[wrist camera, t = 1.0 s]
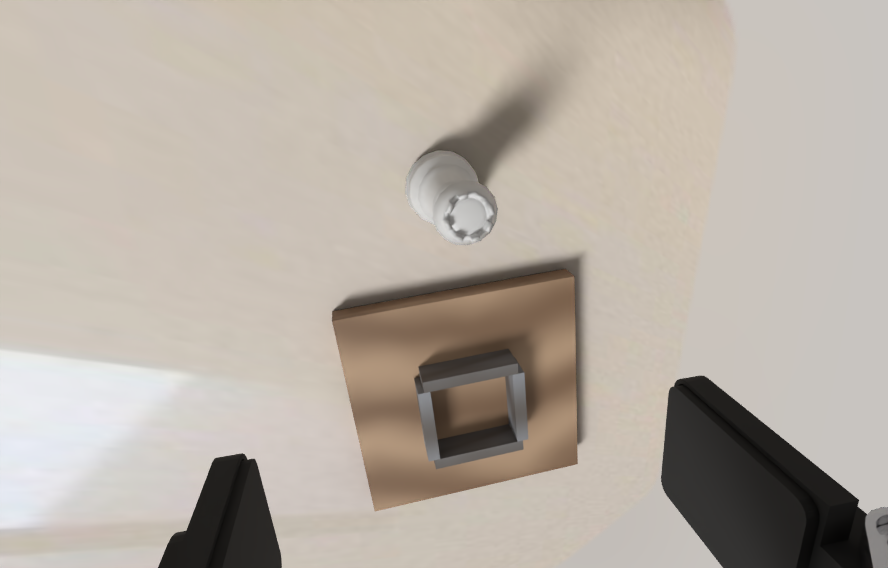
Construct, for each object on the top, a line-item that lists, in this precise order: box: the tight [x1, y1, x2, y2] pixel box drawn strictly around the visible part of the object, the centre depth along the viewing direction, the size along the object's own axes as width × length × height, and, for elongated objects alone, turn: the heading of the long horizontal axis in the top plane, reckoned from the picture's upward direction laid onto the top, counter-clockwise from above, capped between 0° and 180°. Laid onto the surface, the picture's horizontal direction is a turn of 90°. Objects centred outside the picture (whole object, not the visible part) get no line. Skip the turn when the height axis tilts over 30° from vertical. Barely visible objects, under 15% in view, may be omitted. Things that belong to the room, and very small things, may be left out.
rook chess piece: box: [405, 150, 498, 245], centre depth 28 cm, size 4×4×8 cm
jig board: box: [332, 269, 578, 511], centre depth 36 cm, size 16×16×4 cm
